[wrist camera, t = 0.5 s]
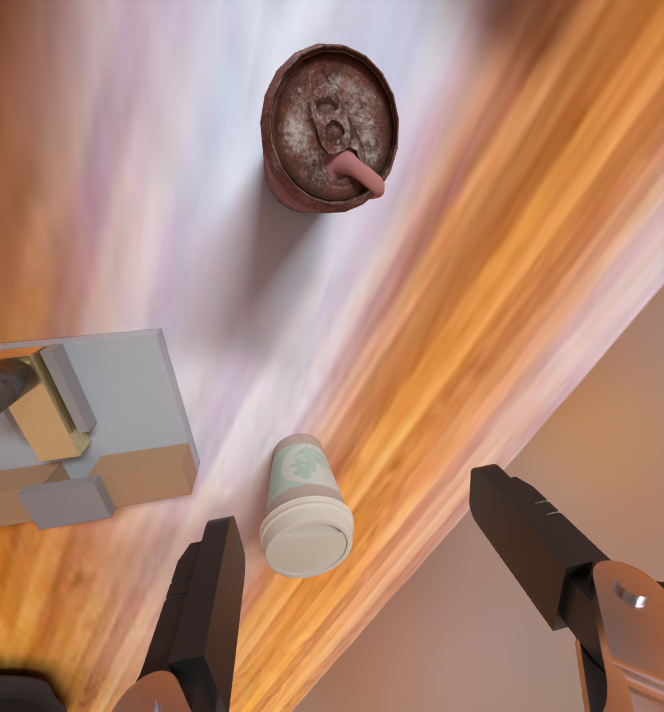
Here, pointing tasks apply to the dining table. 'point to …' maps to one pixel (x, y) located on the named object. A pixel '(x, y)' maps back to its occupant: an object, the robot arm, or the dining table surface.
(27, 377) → the bolt
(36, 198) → the dining table surface
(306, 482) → the coffee cup
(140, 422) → the door plate
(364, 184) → the can
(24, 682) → the casserole
